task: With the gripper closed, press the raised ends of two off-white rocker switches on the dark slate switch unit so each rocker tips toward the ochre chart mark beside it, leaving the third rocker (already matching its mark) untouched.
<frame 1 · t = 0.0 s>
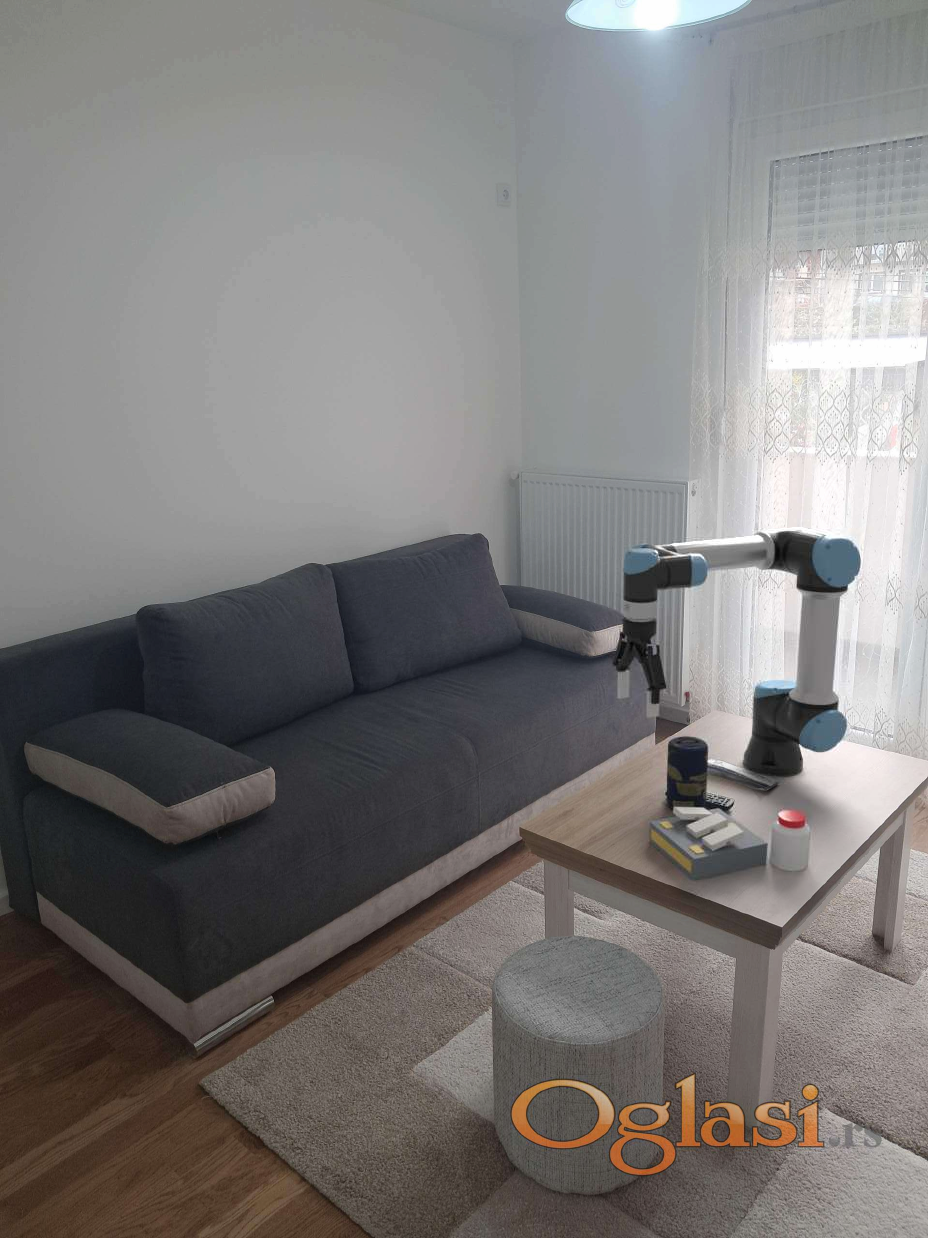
hand: (637, 707, 217), 28 cm above the table, fingers open, 13 cm apart
rocker a: (692, 814, 211), point 7 cm above the table, hinge at -12.0°
rocker c: (723, 838, 200), point 7 cm above the table, hinge at 12.0°
rocker b: (707, 825, 205), point 7 cm above the table, hinge at 12.0°
pill bottle: (788, 863, 202), on the table
canister: (685, 808, 229), on the table
switch unit: (706, 852, 207), on the table
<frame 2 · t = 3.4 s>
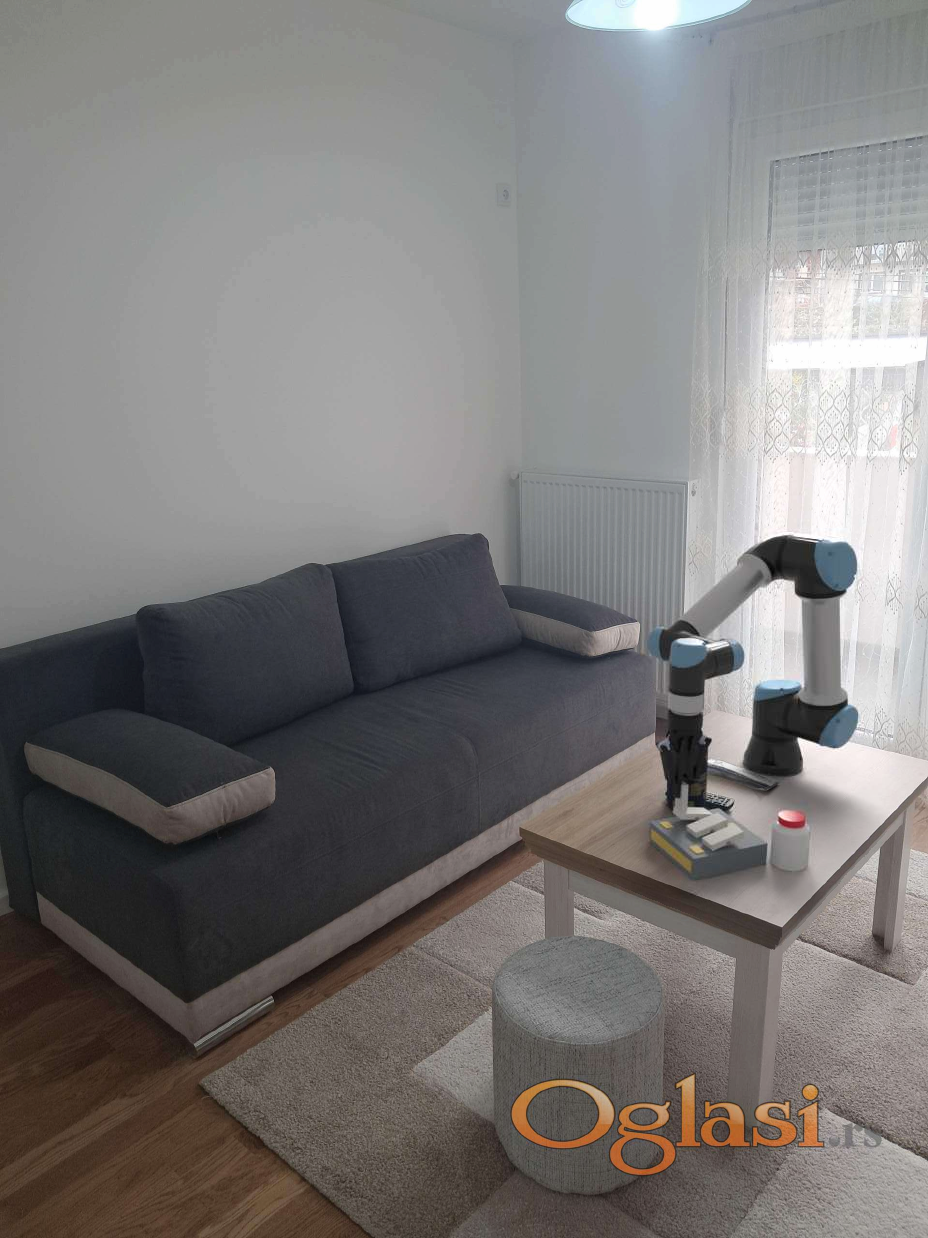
hand: (680, 810, 209), 8 cm above the table, fingers closed
rocker a: (692, 814, 211), point 7 cm above the table, hinge at -12.0°, touching gripper
everything else where it was.
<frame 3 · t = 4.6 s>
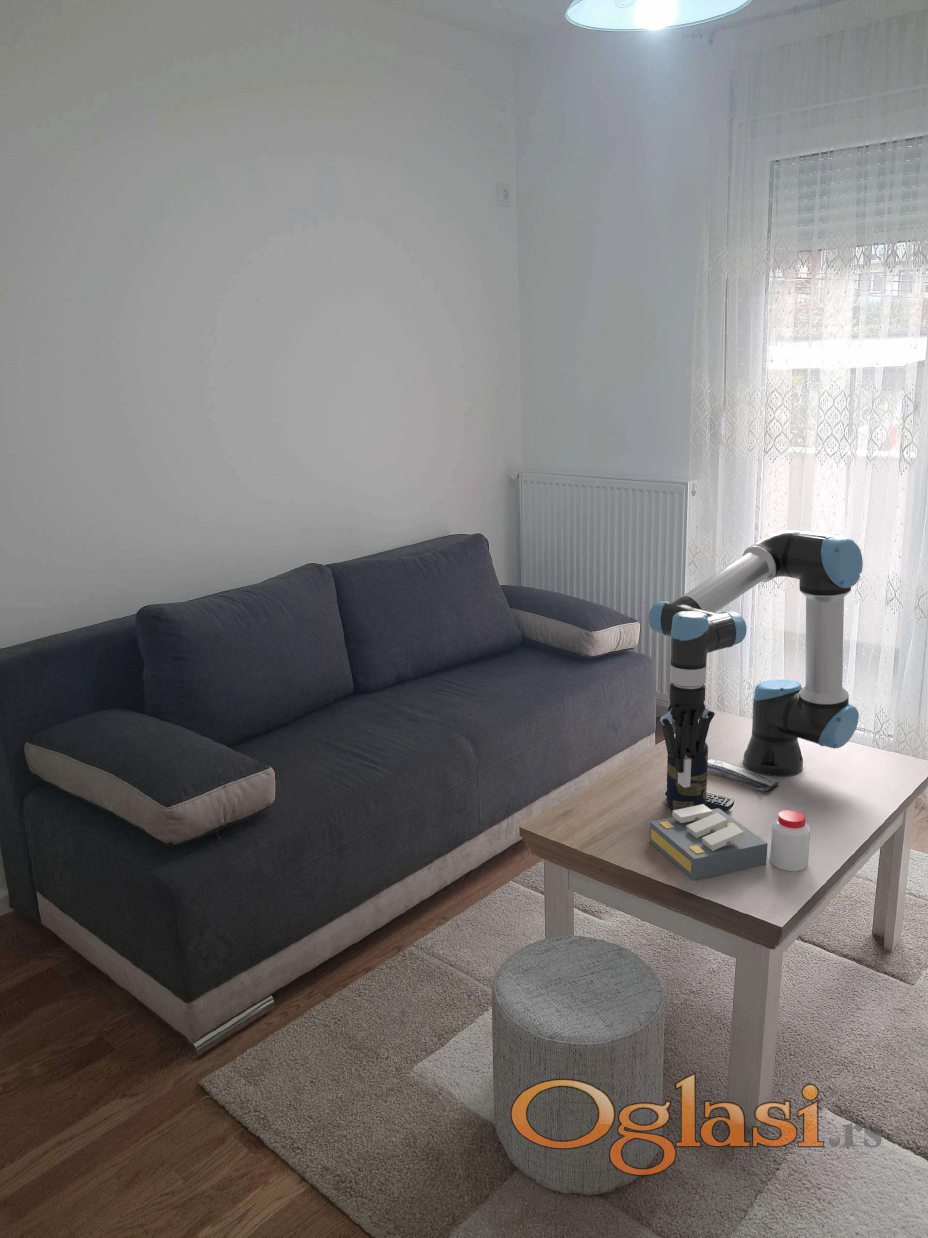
hand: (683, 784, 208), 14 cm above the table, fingers closed
rocker a: (692, 814, 211), point 7 cm above the table, hinge at 0.8°
everything else where it was.
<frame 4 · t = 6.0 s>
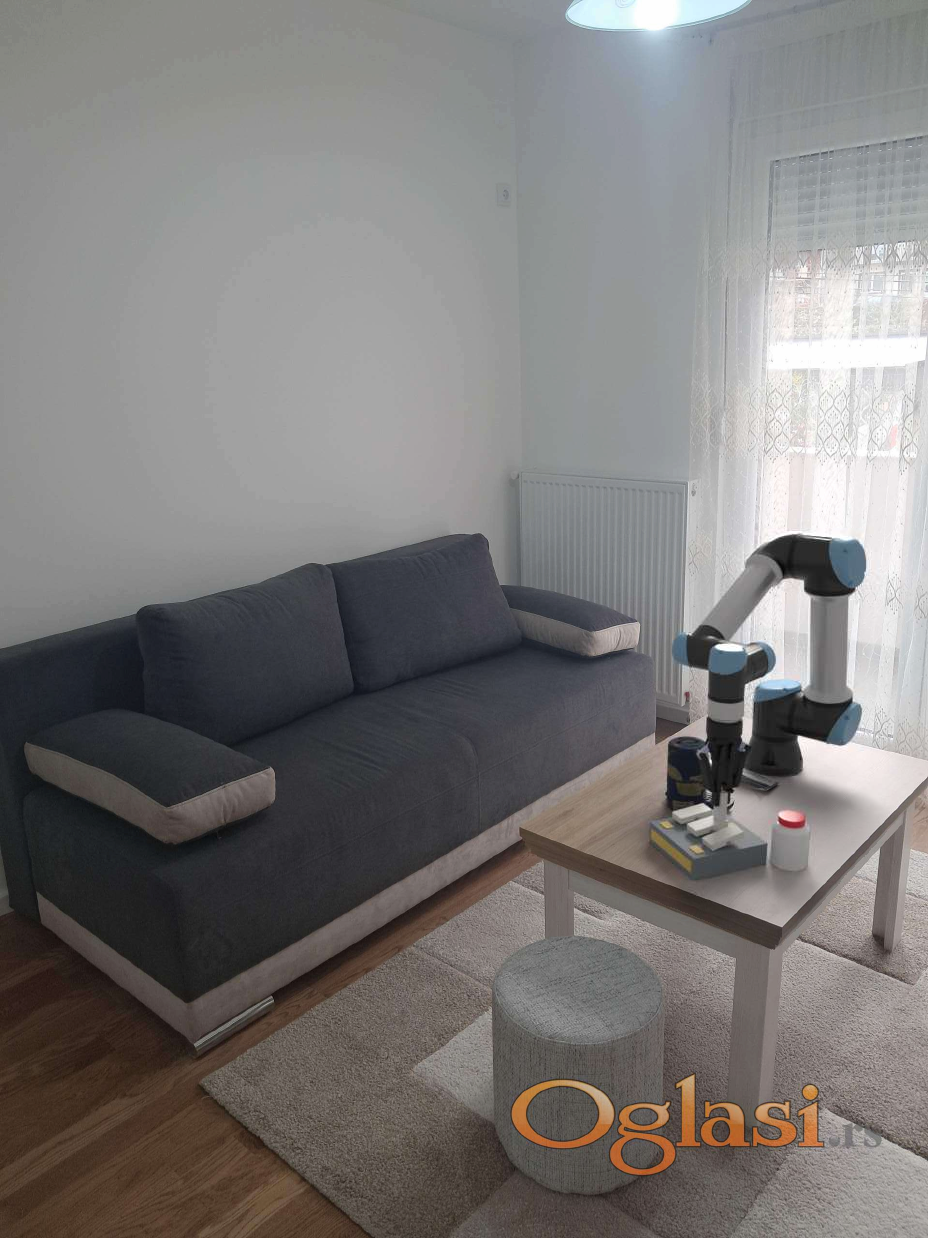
hand: (719, 818, 206), 8 cm above the table, fingers closed
rocker a: (692, 814, 211), point 7 cm above the table, hinge at 5.0°
rocker b: (707, 825, 205), point 7 cm above the table, hinge at 6.2°, touching gripper
everything else where it was.
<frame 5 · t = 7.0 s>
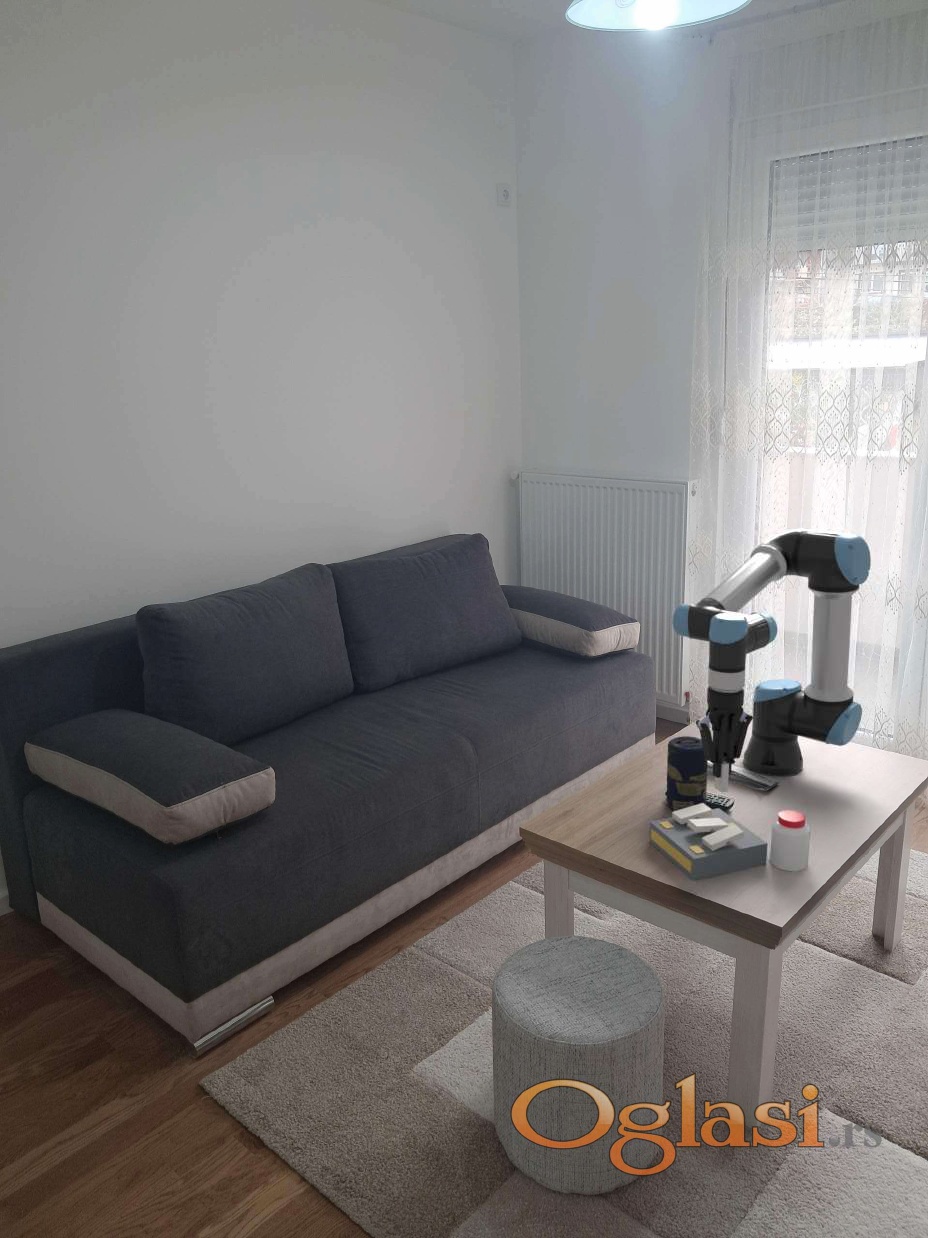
hand: (721, 789, 204), 14 cm above the table, fingers closed
rocker a: (692, 814, 211), point 7 cm above the table, hinge at 5.8°
rocker b: (707, 825, 205), point 7 cm above the table, hinge at -7.9°
everything else where it was.
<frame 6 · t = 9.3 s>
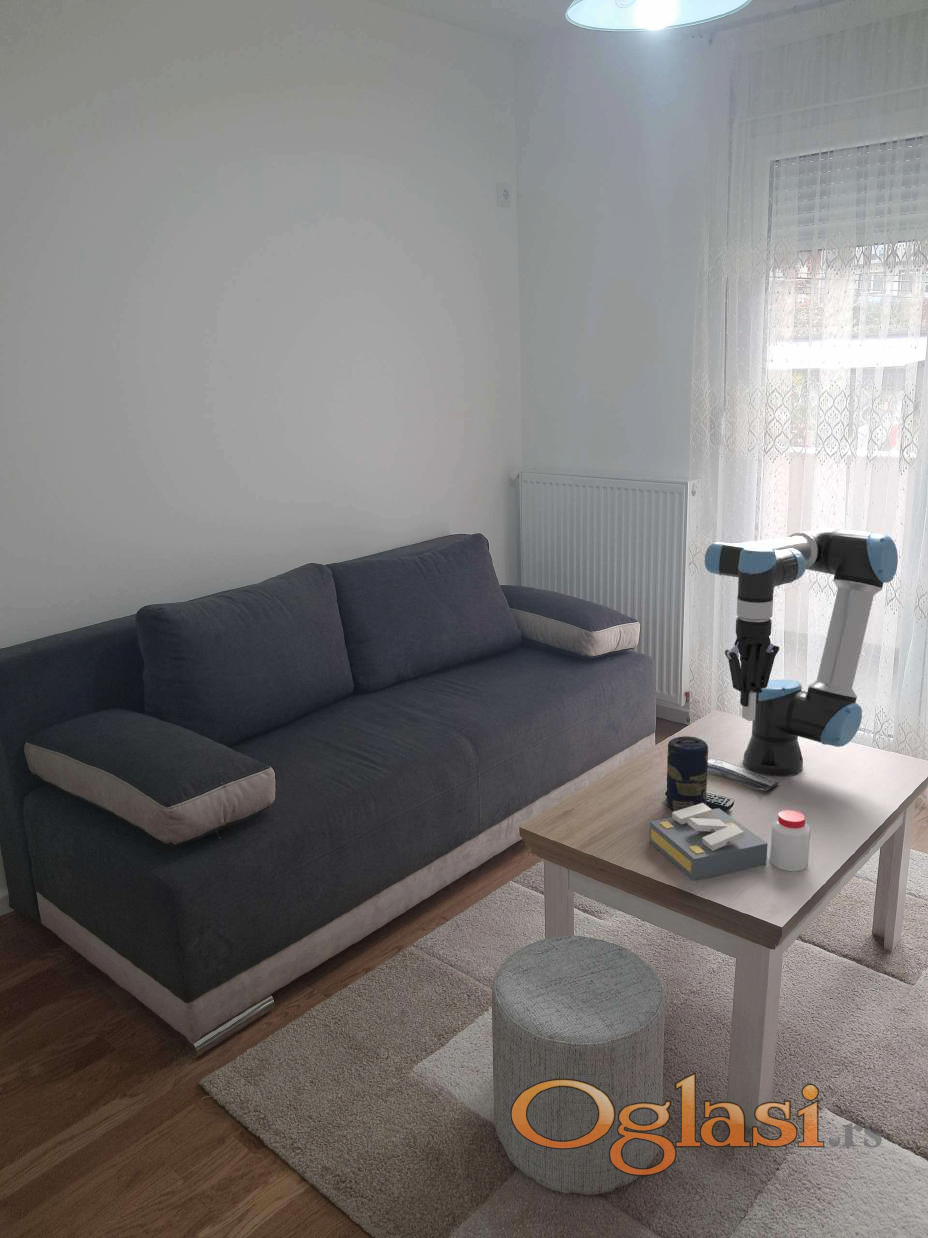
hand: (748, 718, 212), 26 cm above the table, fingers closed
rocker a: (692, 814, 211), point 7 cm above the table, hinge at 6.1°
rocker b: (707, 825, 205), point 7 cm above the table, hinge at -13.4°
everything else where it was.
at the end: rocker a at +6° (first picture: -12°); rocker b at -13° (first picture: +12°); rocker c at +12° (first picture: +12°) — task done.
